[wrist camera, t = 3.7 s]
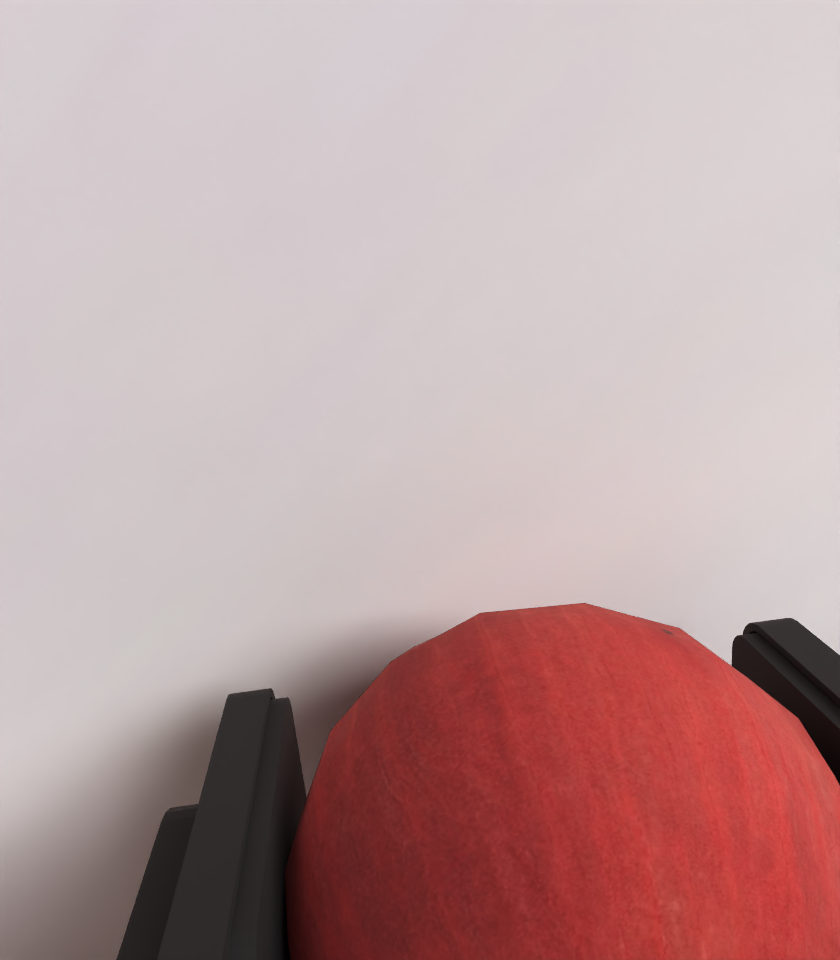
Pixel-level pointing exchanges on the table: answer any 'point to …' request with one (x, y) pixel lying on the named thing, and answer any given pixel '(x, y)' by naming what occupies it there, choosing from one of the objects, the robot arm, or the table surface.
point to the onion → (566, 805)
